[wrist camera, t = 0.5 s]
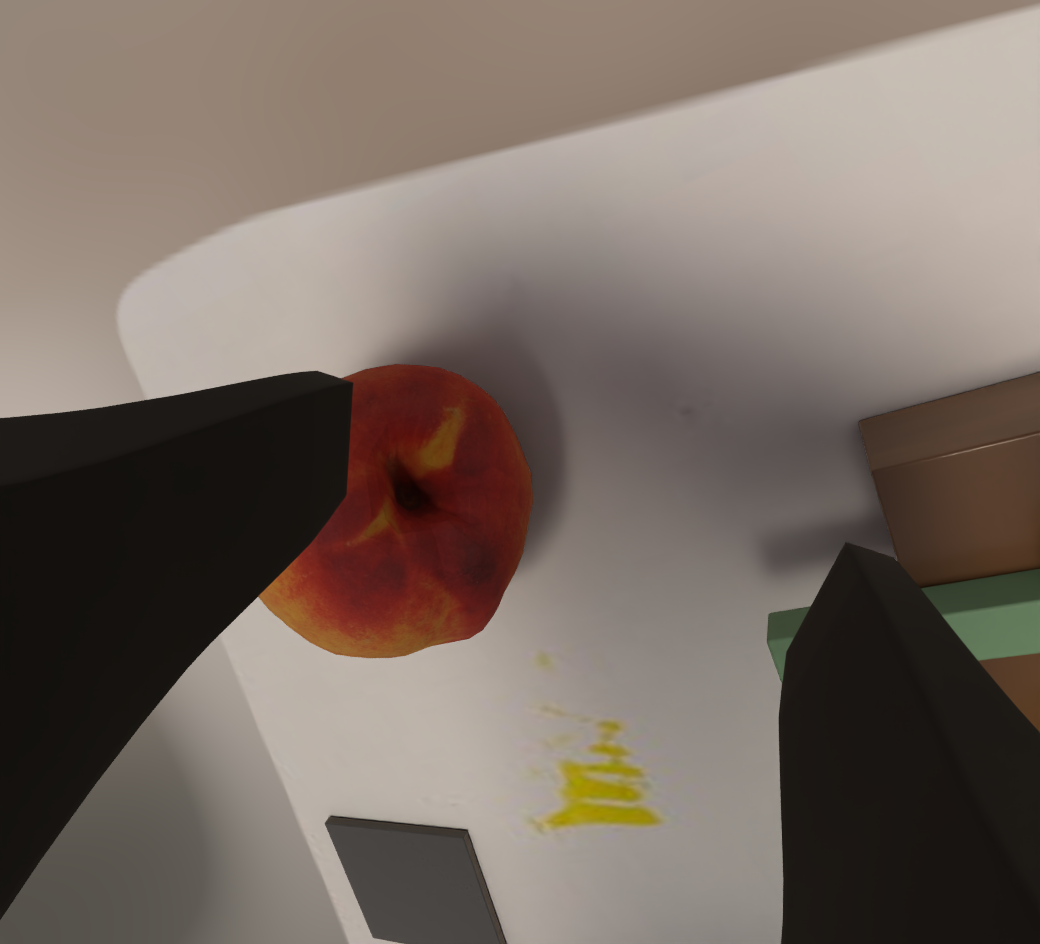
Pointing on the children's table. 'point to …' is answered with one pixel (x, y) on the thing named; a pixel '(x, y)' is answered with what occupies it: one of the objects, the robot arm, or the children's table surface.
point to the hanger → (958, 616)
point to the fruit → (413, 520)
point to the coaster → (416, 882)
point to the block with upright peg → (966, 498)
